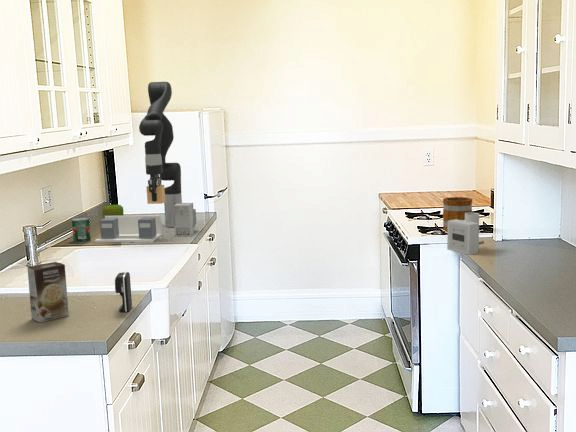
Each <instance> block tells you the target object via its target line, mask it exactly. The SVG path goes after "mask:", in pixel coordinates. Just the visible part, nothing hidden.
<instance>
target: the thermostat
mask: <svg viewBox="0 0 576 432" xmlns="http://www.w3.org/2000/svg"><path fill="white" fill-rule="evenodd" d="M446 235H447V238H446V239H447V240H446V241H447V246H446V249H447V251H452V252H456V253H459V254H465V255H468V256H470V255H471V256H472V255H476V254H478V253H479V250H480V249H479V247H480V245H484V244H485V242H484V241H483V240H481V241H480V240H479V239H480V213H479V212H472V213H465V220H457V219H455V220H449V221H448V232H447V233H446Z"/></svg>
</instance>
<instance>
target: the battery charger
mask: <svg viewBox="0 0 576 432" xmlns="http://www.w3.org/2000/svg"><path fill="white" fill-rule="evenodd" d="M131 285H132V284H131V273H130V272H128V271H124V272H123V271H122V272H119V273H118V274H117V275H116V277H115V278H114V287H115V288H114V290H115V293H116V294H119V296H120V297H121V299H122V304H121V305H120V307H119V308H118V311H119V312H121V313H123V312H124V313H125V312H126V313H127V312H130V310H131V307H132V306H133V299H132V288H131V287H132V286H131Z"/></svg>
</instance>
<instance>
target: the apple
mask: <svg viewBox="0 0 576 432" xmlns="http://www.w3.org/2000/svg"><path fill="white" fill-rule="evenodd" d="M105 216H125V214H124V207H123V206H122V205H121V204H108V205H105V206H104V207H103V209H102V217H103V218H102V219H104V218H105Z"/></svg>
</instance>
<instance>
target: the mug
mask: <svg viewBox="0 0 576 432" xmlns="http://www.w3.org/2000/svg"><path fill="white" fill-rule="evenodd" d="M442 201H443V207H442V209H443V210H442V220H443V223H442V224H443V225H442V231H443V230H445V231H446V233H448V221H449V220H455V219H457V220H465V213H473V209H472V208H473V198H470V197H463V196H461V197H460V196H454V197H452V196H451V197H444V198H443V199H442ZM445 231H444V232H445Z"/></svg>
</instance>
